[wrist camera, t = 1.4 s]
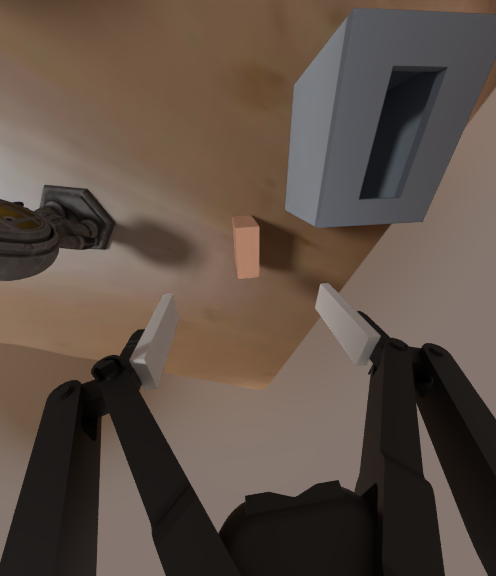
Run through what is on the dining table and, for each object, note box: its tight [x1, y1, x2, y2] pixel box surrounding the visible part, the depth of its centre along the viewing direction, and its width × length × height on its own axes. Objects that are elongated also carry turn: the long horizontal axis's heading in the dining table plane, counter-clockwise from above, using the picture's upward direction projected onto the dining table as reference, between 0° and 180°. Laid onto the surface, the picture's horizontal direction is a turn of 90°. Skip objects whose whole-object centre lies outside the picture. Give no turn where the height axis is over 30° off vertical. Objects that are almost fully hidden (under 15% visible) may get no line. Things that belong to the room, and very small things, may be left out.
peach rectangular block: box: [232, 215, 259, 279], centre depth 28 cm, size 7×3×8 cm, turn 2°
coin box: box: [285, 8, 496, 228], centre depth 21 cm, size 14×12×12 cm
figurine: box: [0, 185, 115, 281], centre depth 21 cm, size 9×10×15 cm
